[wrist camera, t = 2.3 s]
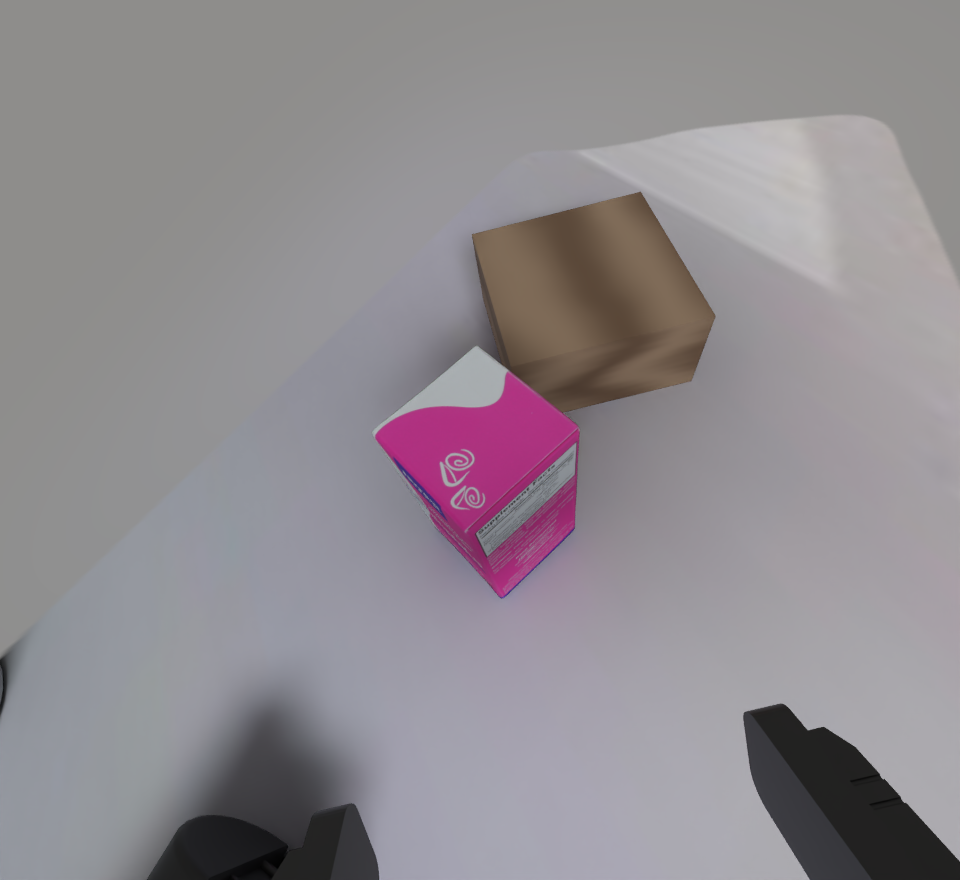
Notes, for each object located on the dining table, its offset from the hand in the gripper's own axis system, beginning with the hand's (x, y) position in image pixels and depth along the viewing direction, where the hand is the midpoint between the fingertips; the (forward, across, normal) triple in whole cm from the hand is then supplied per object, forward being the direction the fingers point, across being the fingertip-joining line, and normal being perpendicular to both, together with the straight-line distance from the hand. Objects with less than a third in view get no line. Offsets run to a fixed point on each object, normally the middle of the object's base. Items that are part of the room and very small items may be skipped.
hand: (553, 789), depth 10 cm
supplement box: (+18, 0, +3) cm, 19 cm away
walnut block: (+27, -8, -6) cm, 29 cm away
